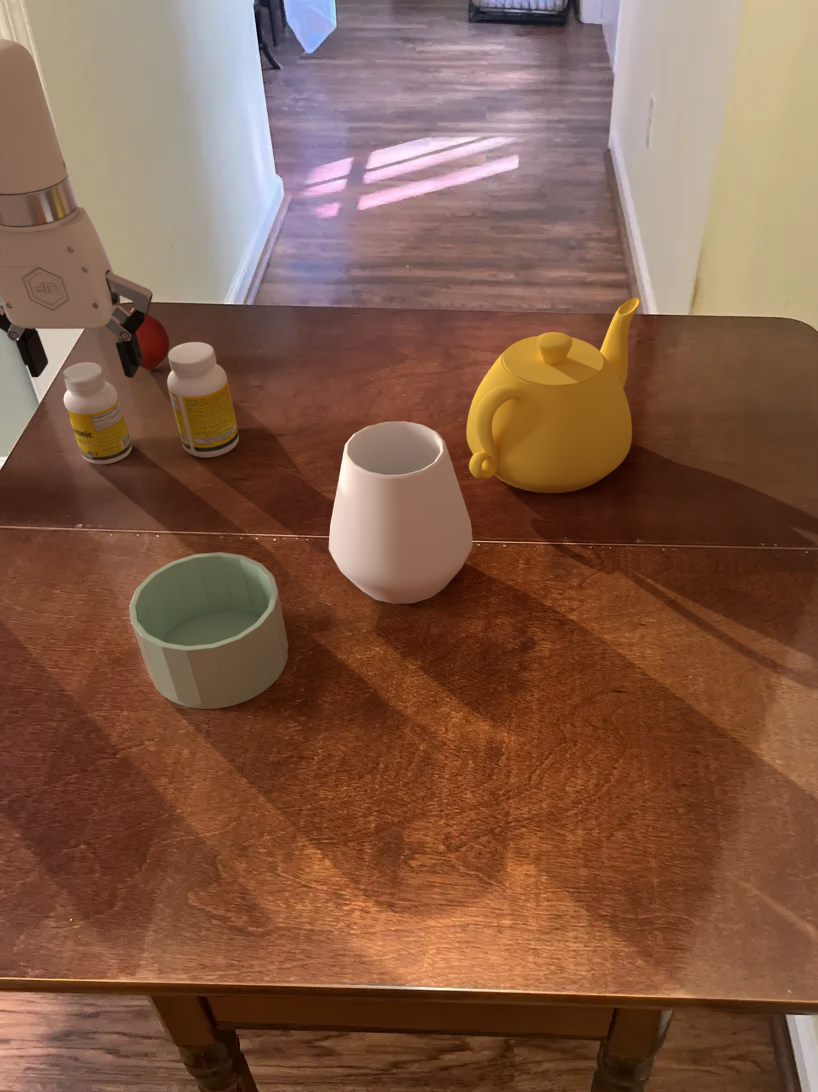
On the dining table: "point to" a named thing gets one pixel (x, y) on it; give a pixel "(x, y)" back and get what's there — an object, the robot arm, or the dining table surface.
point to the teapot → (554, 411)
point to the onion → (152, 342)
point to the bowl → (210, 629)
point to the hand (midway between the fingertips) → (87, 370)
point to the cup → (399, 514)
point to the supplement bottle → (95, 414)
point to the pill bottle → (201, 400)
